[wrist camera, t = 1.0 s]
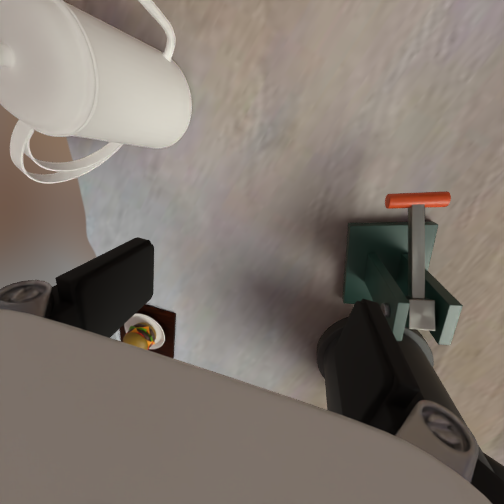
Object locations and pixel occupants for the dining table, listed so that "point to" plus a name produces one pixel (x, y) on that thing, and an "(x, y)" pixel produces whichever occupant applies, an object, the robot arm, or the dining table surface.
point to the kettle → (419, 364)
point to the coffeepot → (86, 83)
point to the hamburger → (151, 330)
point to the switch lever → (418, 254)
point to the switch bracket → (394, 276)
